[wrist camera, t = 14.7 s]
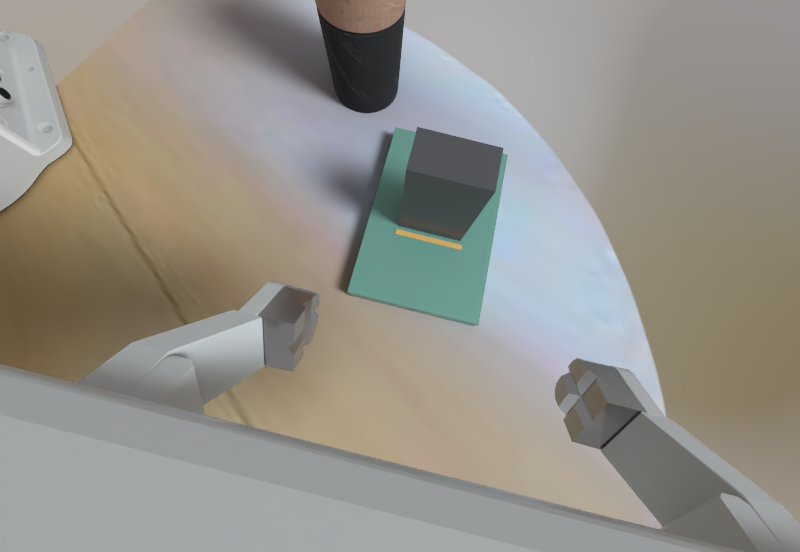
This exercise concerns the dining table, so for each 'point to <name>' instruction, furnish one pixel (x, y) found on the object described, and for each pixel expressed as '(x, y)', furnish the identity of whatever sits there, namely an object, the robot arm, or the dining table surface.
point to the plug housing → (447, 183)
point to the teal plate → (422, 251)
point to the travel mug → (363, 50)
